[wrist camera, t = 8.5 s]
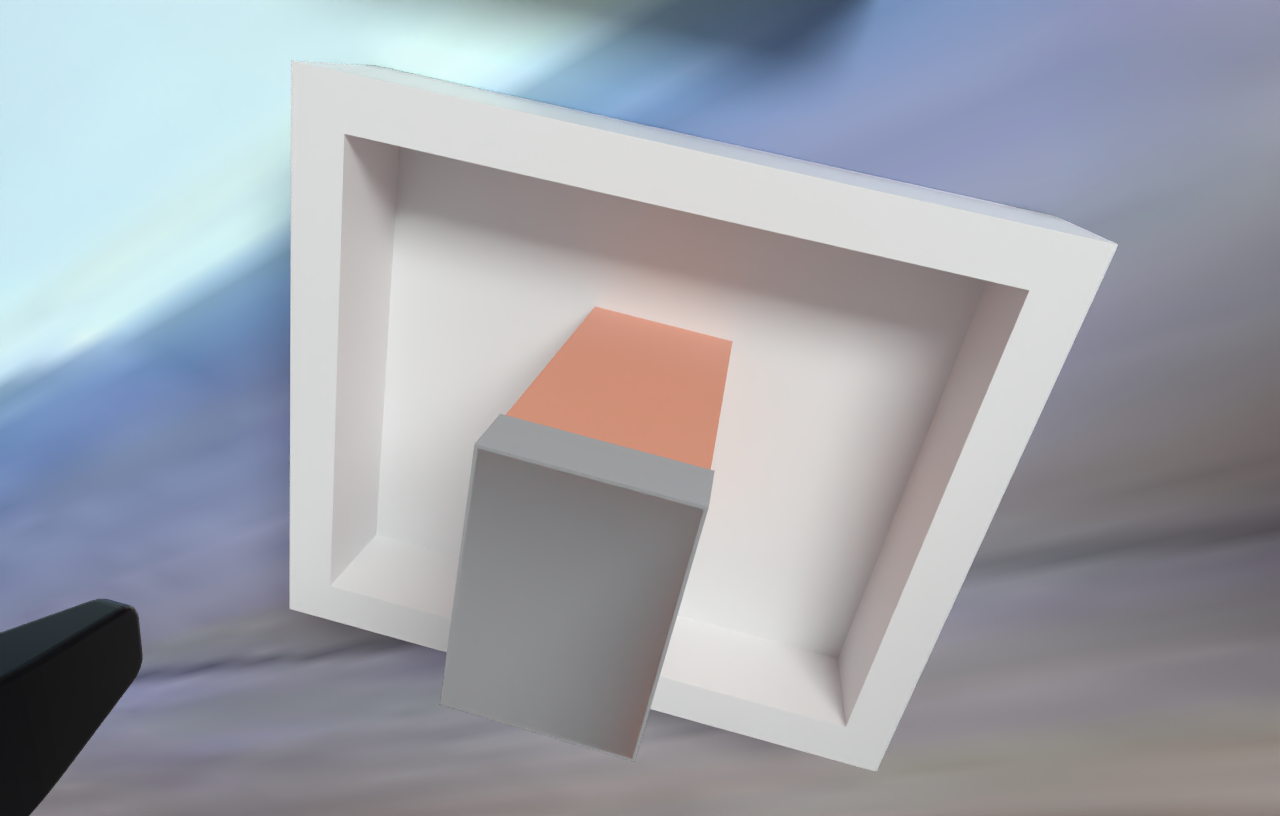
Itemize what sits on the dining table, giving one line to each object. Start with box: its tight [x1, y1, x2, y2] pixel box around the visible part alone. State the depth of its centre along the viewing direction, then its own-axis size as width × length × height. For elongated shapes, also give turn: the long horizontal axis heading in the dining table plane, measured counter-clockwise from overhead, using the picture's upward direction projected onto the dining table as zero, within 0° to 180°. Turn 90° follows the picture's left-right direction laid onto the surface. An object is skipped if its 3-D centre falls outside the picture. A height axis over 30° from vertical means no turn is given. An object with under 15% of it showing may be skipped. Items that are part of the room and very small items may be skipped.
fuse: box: [440, 306, 733, 762], centre depth 14 cm, size 3×5×7 cm
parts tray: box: [290, 61, 1118, 772], centre depth 16 cm, size 14×12×3 cm
